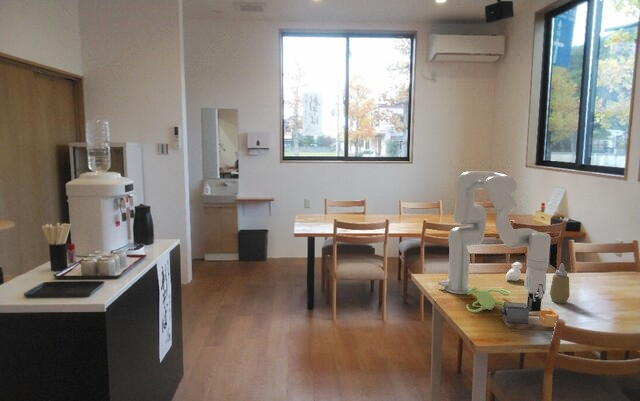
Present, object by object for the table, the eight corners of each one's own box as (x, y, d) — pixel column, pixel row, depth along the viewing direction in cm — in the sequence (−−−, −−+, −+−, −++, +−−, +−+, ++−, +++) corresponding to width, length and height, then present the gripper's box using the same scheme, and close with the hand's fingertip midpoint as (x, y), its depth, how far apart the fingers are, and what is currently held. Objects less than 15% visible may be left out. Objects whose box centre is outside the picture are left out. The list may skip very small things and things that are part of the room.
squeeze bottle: (566, 299, 197) (570, 262, 195) (570, 305, 189) (574, 266, 187) (547, 297, 199) (550, 260, 197) (550, 303, 192) (554, 265, 190)
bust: (508, 286, 222) (523, 273, 215) (498, 275, 225) (512, 261, 219) (518, 281, 230) (532, 268, 223) (507, 271, 233) (521, 257, 227)
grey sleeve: (506, 322, 167) (507, 306, 166) (502, 317, 172) (504, 302, 171) (528, 324, 166) (529, 308, 165) (523, 319, 171) (524, 303, 170)
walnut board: (507, 327, 165) (508, 324, 165) (501, 318, 174) (501, 315, 174) (559, 331, 162) (560, 328, 162) (550, 321, 171) (550, 319, 171)
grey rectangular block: (508, 316, 167) (509, 298, 166) (505, 312, 171) (506, 295, 170) (540, 318, 165) (541, 300, 164) (536, 314, 169) (538, 297, 168)
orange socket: (545, 326, 164) (546, 314, 163) (538, 319, 171) (539, 307, 170) (557, 327, 163) (558, 314, 163) (550, 320, 170) (551, 308, 169)
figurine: (509, 298, 199) (510, 287, 198) (512, 319, 174) (513, 306, 173) (467, 293, 205) (468, 281, 204) (465, 312, 180) (466, 300, 180)
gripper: (520, 257, 173) (517, 300, 176) (534, 269, 157) (530, 316, 159) (539, 258, 172) (536, 301, 175) (556, 270, 156) (552, 317, 158)
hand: (533, 308), depth 167 cm, fingers closed on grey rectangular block, 4 cm apart
